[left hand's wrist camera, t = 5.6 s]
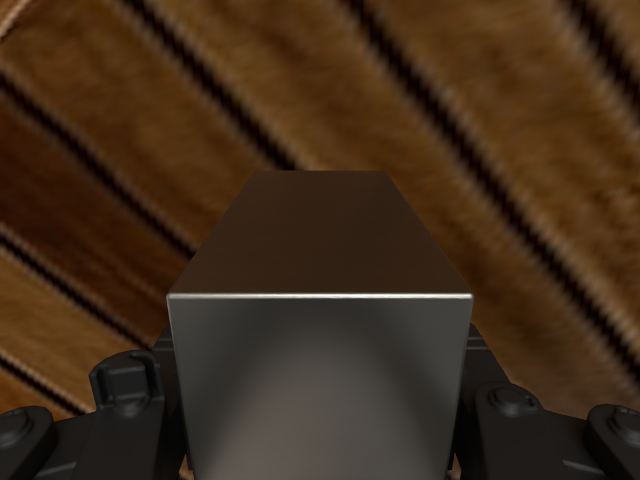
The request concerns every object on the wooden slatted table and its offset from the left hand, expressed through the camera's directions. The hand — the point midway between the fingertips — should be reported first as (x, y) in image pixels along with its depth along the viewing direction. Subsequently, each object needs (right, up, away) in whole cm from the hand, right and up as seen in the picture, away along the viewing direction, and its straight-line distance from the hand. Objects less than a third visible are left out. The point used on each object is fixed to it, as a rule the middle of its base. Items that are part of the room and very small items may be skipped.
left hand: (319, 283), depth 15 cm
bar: (0, -8, +4) cm, 9 cm away
